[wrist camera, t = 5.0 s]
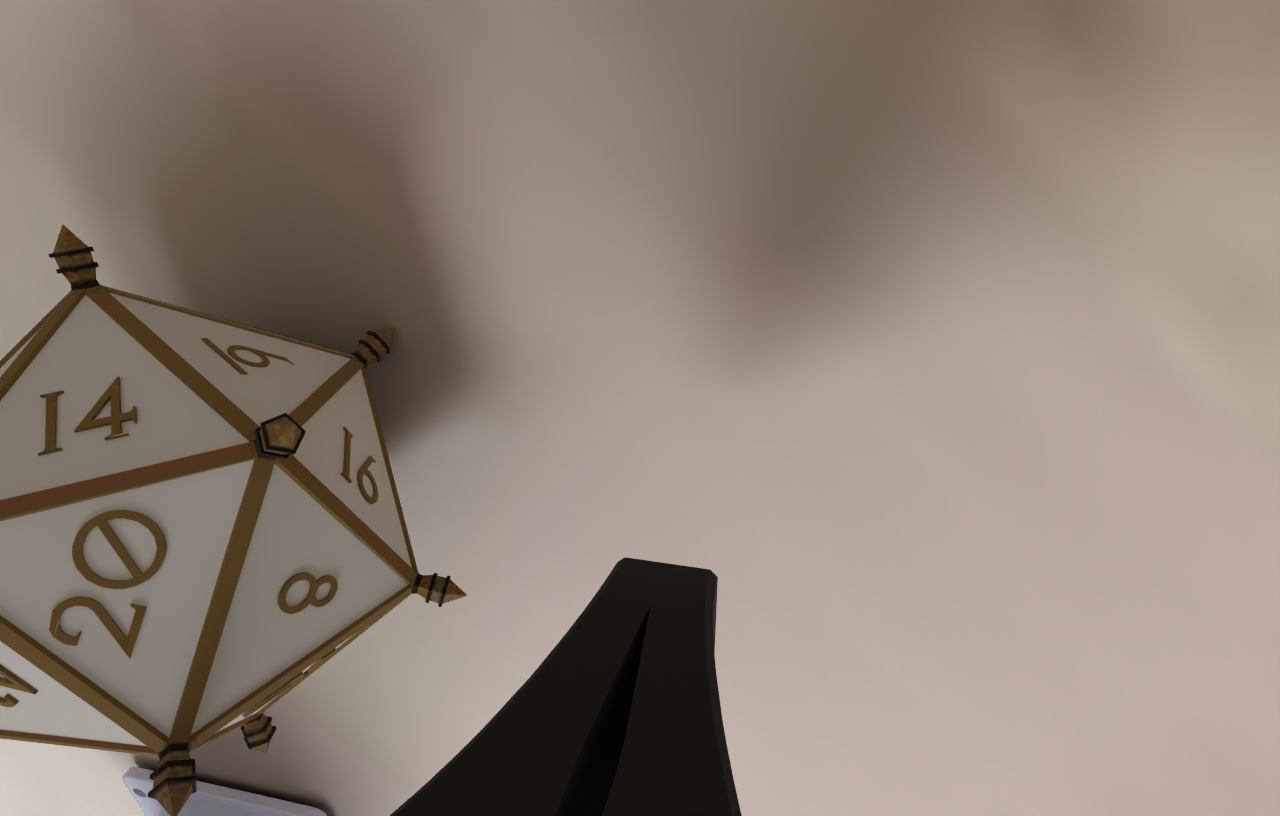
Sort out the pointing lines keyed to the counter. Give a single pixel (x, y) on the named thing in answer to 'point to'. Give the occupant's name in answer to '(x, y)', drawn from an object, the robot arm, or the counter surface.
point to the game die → (183, 523)
